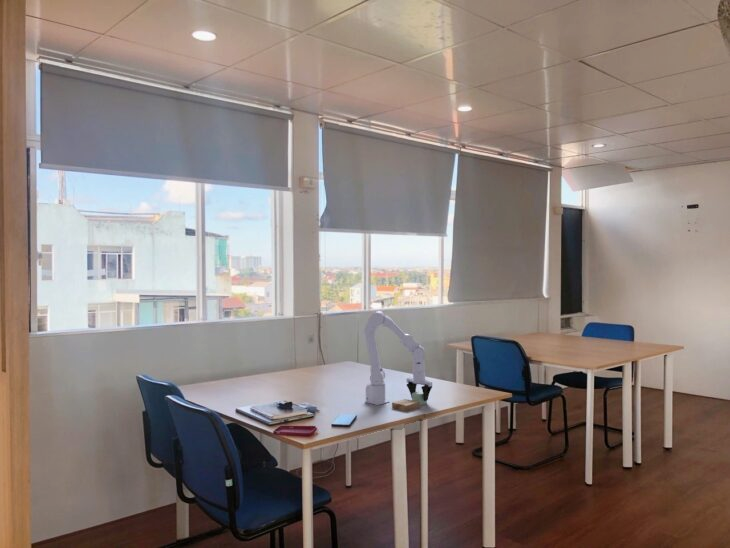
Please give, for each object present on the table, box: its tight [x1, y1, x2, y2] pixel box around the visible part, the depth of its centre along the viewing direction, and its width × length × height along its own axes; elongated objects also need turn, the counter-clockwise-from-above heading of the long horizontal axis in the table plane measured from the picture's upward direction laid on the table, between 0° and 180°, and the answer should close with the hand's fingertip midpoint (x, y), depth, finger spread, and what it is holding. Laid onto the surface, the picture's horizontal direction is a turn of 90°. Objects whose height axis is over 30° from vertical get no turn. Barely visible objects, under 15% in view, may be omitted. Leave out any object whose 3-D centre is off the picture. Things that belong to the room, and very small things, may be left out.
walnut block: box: [391, 398, 421, 413], centre depth 269 cm, size 9×9×3 cm
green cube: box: [411, 390, 428, 406], centre depth 278 cm, size 5×5×5 cm
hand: (419, 399), depth 278 cm, fingers open, 7 cm apart
